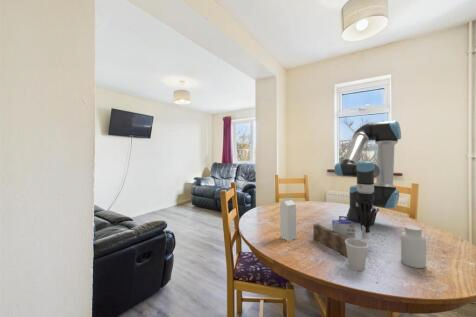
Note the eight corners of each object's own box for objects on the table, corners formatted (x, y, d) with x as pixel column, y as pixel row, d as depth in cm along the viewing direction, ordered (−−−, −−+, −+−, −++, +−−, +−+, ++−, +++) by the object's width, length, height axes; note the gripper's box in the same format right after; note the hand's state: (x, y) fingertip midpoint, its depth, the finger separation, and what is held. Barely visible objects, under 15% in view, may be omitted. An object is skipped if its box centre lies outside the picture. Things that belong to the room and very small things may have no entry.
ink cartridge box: (353, 245, 106) (353, 216, 105) (356, 250, 100) (356, 219, 100) (332, 243, 109) (331, 214, 108) (333, 247, 104) (333, 218, 103)
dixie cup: (359, 260, 91) (358, 237, 91) (373, 271, 83) (373, 246, 82) (340, 262, 90) (340, 239, 90) (353, 273, 82) (353, 247, 81)
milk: (296, 239, 115) (296, 198, 114) (287, 241, 112) (287, 199, 111) (288, 235, 120) (288, 196, 119) (280, 237, 117) (279, 197, 116)
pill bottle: (396, 259, 91) (396, 224, 91) (413, 258, 92) (413, 223, 92) (412, 269, 84) (413, 231, 83) (431, 268, 84) (432, 230, 84)
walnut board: (313, 239, 114) (313, 224, 114) (317, 238, 115) (317, 223, 114) (347, 258, 93) (346, 240, 93) (351, 257, 94) (351, 239, 94)
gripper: (348, 190, 113) (349, 234, 114) (371, 195, 100) (371, 244, 101) (359, 189, 115) (360, 232, 116) (383, 193, 103) (383, 241, 104)
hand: (365, 238), depth 109 cm, fingers closed
